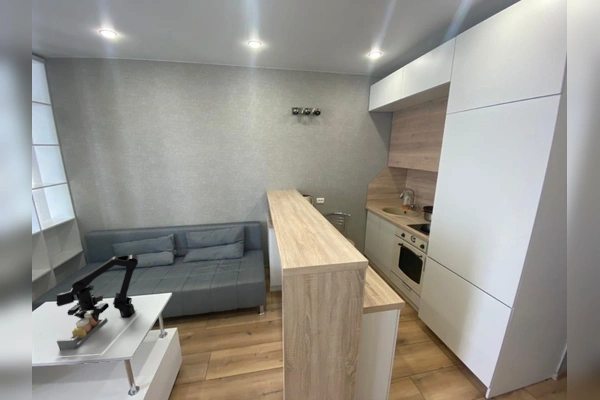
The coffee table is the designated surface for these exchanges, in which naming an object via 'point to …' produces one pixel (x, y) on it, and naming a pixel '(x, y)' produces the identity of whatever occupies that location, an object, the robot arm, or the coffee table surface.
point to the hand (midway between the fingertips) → (92, 321)
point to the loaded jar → (84, 324)
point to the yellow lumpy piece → (79, 333)
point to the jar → (91, 319)
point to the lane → (75, 343)
